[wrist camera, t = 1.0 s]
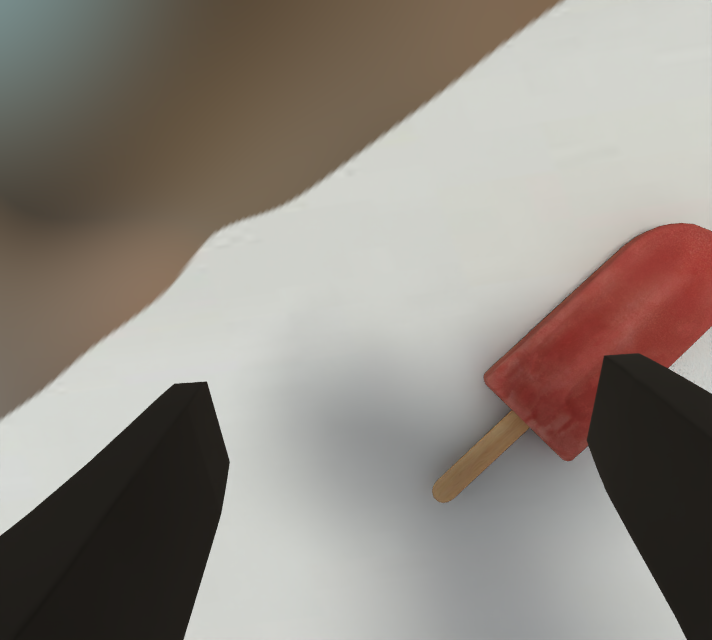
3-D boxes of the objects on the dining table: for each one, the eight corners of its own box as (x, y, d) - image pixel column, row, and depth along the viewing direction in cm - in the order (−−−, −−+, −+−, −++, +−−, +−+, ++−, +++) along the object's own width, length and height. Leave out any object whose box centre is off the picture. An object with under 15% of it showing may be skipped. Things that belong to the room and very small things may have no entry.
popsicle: (396, 466, 21) (677, 194, 19) (399, 454, 22) (658, 204, 21) (476, 549, 20) (774, 278, 18) (473, 530, 22) (746, 281, 20)
